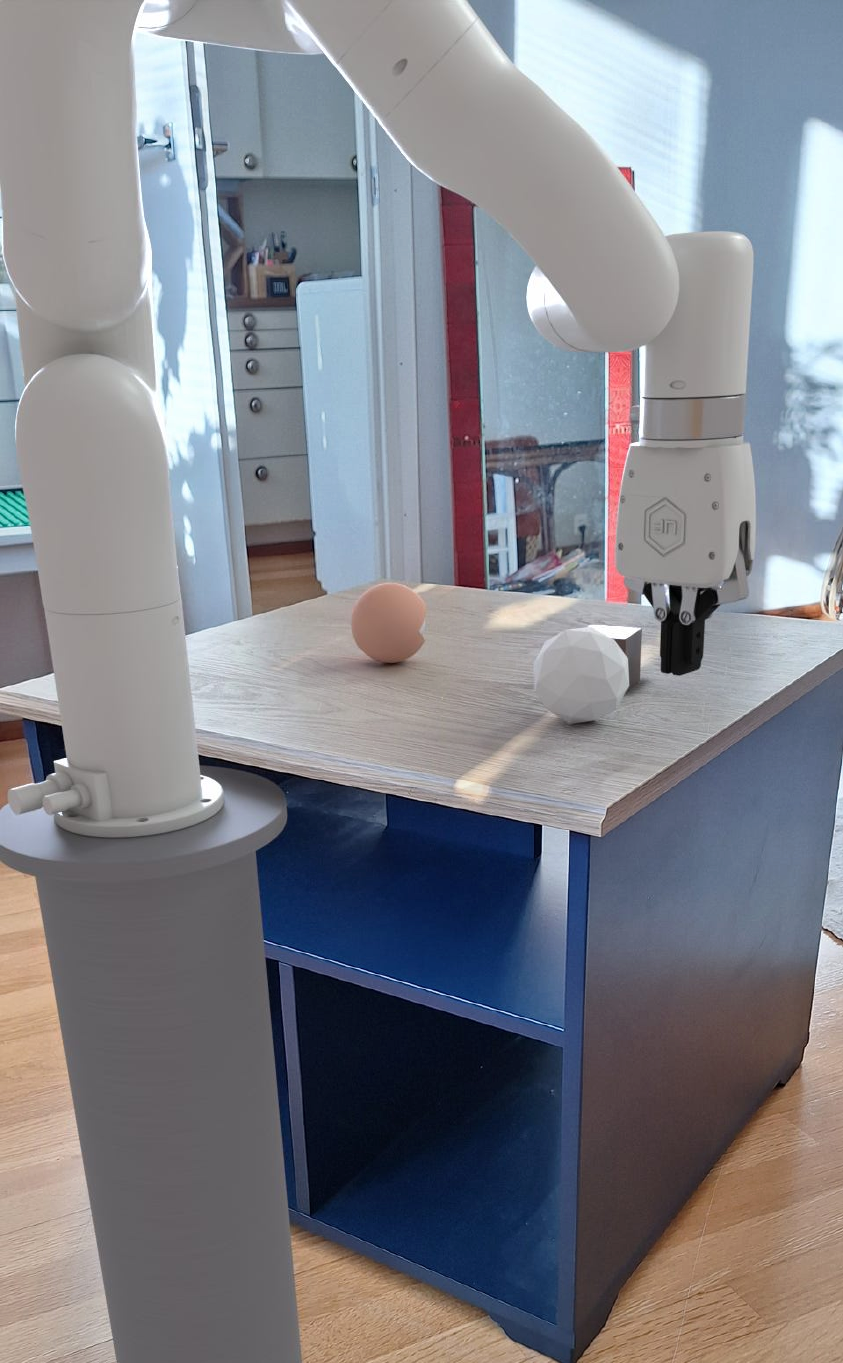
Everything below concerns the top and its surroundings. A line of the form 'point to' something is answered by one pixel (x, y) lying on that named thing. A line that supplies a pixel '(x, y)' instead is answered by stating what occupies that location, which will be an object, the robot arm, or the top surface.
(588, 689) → the white faceted ball
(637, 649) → the walnut block
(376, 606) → the toy ball
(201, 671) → the top surface
